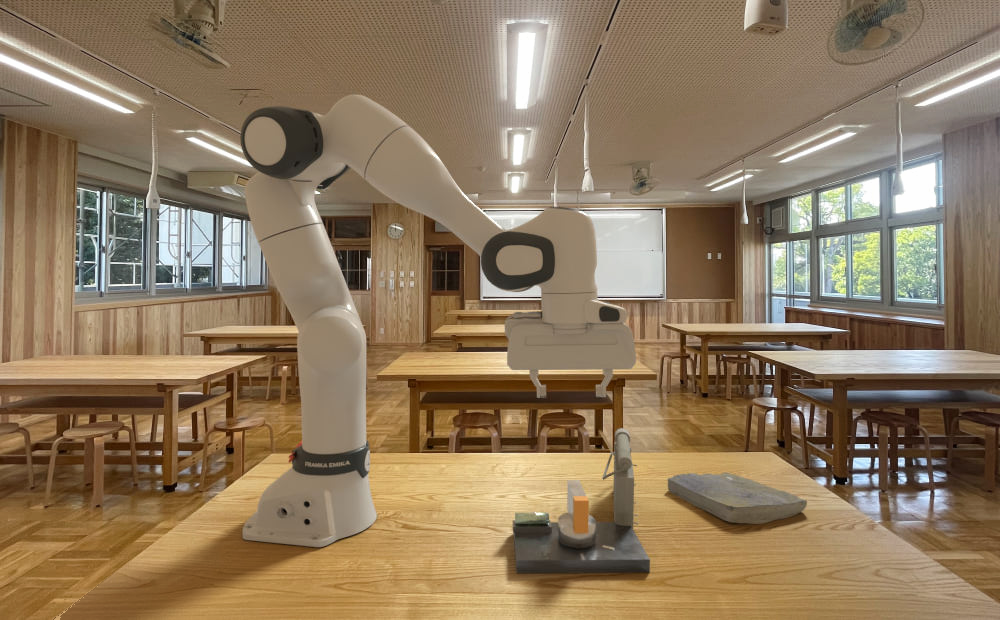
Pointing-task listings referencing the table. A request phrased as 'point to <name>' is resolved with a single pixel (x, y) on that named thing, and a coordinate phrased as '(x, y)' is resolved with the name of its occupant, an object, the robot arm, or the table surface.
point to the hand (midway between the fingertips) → (571, 396)
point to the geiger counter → (622, 479)
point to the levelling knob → (576, 519)
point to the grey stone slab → (735, 497)
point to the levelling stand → (549, 555)
